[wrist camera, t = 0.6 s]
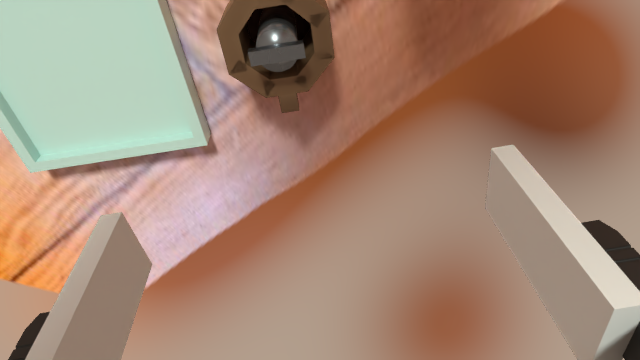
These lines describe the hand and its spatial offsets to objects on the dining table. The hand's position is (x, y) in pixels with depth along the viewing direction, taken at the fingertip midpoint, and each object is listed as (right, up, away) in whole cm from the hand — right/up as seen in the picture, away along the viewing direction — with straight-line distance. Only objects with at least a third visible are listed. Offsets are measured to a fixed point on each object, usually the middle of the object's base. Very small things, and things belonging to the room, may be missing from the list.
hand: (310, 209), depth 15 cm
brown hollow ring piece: (-3, +14, +20) cm, 25 cm away
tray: (-20, +11, +21) cm, 31 cm away
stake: (-3, +14, +20) cm, 25 cm away
